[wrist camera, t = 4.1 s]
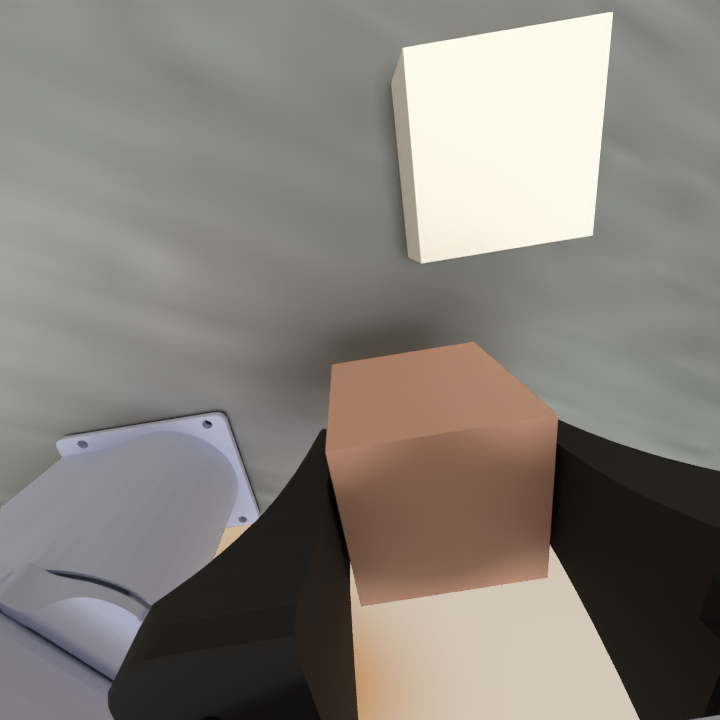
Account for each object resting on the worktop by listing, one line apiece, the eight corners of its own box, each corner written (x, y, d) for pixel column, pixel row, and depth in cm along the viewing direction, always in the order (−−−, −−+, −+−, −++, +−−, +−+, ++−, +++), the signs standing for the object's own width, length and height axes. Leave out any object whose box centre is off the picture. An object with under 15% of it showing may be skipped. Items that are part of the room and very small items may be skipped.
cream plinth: (408, 257, 17) (421, 263, 14) (390, 83, 14) (402, 47, 11) (550, 233, 17) (592, 235, 14) (559, 54, 14) (613, 11, 11)
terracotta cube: (354, 478, 14) (361, 606, 9) (331, 364, 12) (325, 451, 7) (477, 458, 14) (547, 577, 9) (473, 341, 12) (558, 415, 7)
